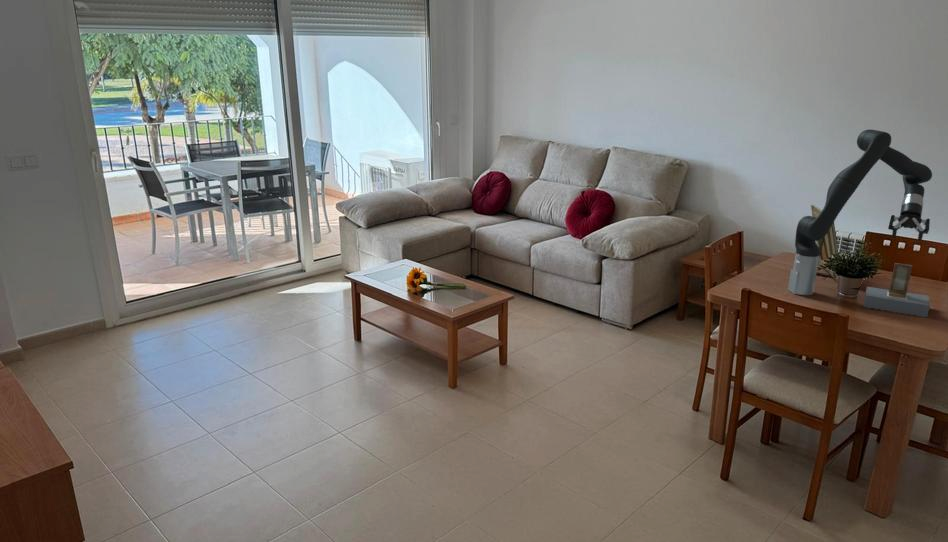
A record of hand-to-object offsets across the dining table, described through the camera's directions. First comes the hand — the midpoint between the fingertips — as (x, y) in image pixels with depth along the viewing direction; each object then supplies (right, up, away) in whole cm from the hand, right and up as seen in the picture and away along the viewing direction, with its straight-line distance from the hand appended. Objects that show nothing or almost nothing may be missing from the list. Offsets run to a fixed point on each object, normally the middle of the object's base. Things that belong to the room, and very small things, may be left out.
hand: (906, 239), depth 279 cm
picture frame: (-14, -15, +42) cm, 47 cm away
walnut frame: (-6, -23, -3) cm, 24 cm away
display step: (-6, -28, -2) cm, 29 cm away
